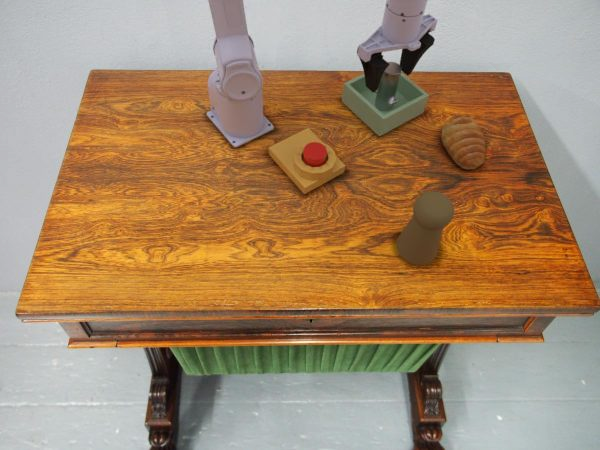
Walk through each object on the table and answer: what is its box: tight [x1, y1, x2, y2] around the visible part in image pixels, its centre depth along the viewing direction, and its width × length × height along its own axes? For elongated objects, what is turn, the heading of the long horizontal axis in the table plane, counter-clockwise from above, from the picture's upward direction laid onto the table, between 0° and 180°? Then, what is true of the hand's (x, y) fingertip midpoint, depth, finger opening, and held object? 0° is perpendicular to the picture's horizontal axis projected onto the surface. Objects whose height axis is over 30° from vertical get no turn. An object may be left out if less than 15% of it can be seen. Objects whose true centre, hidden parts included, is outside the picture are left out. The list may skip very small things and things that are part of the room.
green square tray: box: [341, 71, 430, 137], centre depth 87 cm, size 10×10×4 cm
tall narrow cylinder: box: [374, 61, 403, 111], centre depth 84 cm, size 4×3×8 cm
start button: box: [303, 142, 327, 167], centre depth 76 cm, size 4×4×2 cm
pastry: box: [440, 116, 487, 170], centre depth 82 cm, size 9×7×4 cm
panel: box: [268, 127, 346, 195], centre depth 79 cm, size 10×8×4 cm
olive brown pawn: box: [395, 190, 455, 266], centre depth 68 cm, size 6×6×11 cm
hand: (388, 79), depth 83 cm, fingers open, 7 cm apart
